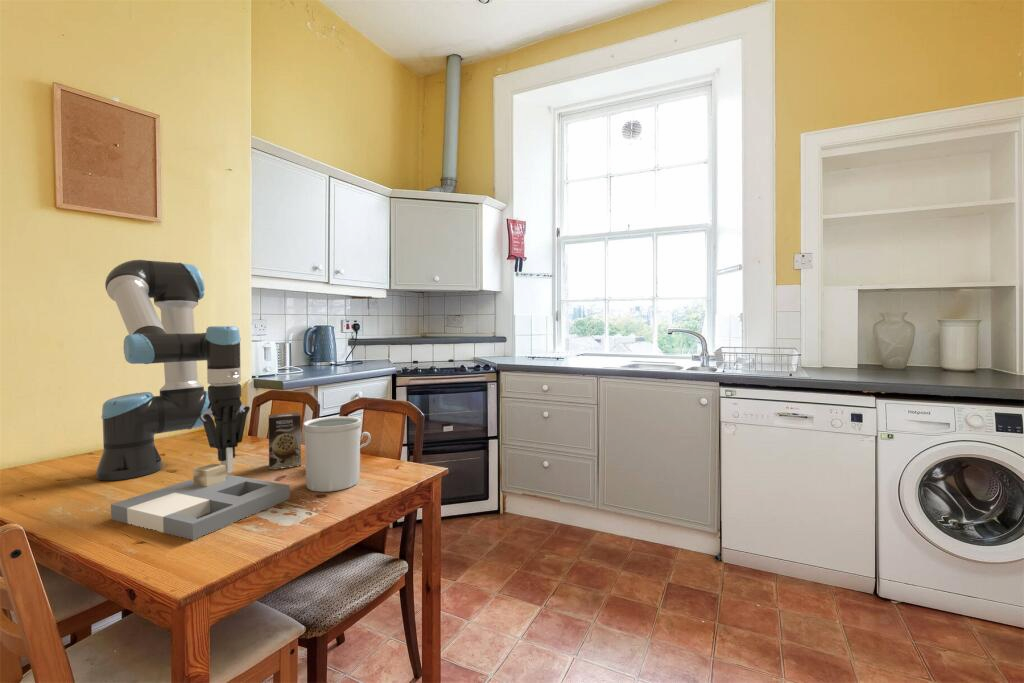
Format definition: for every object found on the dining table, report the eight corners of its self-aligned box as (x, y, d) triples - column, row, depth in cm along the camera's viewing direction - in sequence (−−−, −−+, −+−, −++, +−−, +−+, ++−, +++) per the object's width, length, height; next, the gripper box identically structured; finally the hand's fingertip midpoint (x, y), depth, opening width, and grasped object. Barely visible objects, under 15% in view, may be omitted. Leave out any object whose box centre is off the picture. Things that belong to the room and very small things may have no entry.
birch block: (193, 484, 116) (193, 468, 116) (212, 478, 121) (212, 463, 121) (206, 486, 114) (206, 471, 114) (225, 480, 119) (225, 465, 119)
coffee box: (268, 470, 138) (267, 417, 137) (269, 464, 144) (267, 414, 143) (302, 466, 142) (300, 415, 142) (300, 460, 148) (299, 411, 147)
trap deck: (111, 519, 104) (110, 504, 103) (214, 484, 126) (214, 472, 126) (193, 540, 93) (192, 523, 93) (290, 498, 115) (289, 485, 115)
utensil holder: (325, 473, 135) (324, 414, 135) (371, 476, 132) (370, 416, 132) (292, 490, 121) (291, 425, 120) (342, 494, 118) (341, 427, 117)
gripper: (210, 387, 113) (213, 481, 114) (256, 381, 126) (258, 466, 126) (190, 386, 116) (192, 477, 117) (237, 380, 128) (239, 463, 129)
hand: (227, 471), depth 122 cm, fingers closed
